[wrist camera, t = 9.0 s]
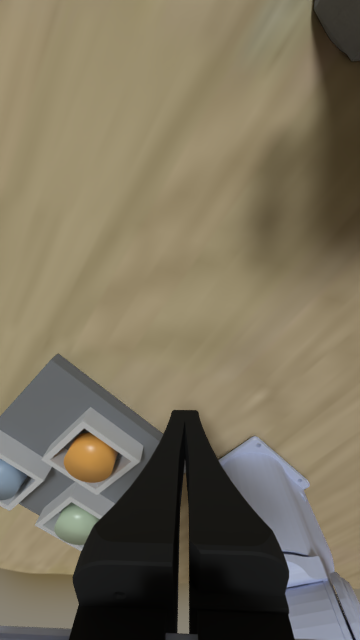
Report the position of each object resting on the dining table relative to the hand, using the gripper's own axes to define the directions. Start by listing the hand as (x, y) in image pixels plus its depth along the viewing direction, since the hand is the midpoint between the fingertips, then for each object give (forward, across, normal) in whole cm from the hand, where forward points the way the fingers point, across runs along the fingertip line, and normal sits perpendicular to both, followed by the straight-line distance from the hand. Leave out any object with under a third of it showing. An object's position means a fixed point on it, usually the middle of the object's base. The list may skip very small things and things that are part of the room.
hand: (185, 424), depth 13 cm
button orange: (+8, +9, +11) cm, 16 cm away
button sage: (+8, +12, +21) cm, 25 cm away
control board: (+9, +12, +14) cm, 21 cm away
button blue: (+8, +19, +13) cm, 25 cm away
